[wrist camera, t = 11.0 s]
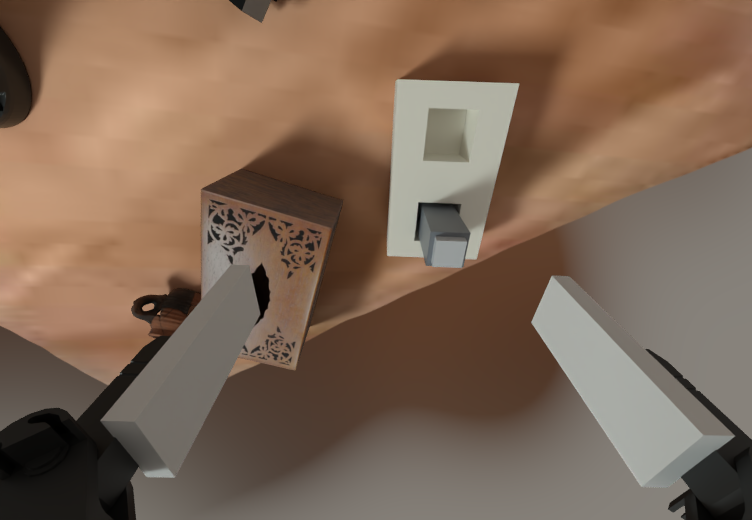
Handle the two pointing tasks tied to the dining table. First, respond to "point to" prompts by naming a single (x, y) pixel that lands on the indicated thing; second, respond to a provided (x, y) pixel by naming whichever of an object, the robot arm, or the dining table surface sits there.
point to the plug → (442, 235)
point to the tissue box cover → (269, 255)
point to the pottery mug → (166, 310)
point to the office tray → (253, 7)
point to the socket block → (445, 154)
